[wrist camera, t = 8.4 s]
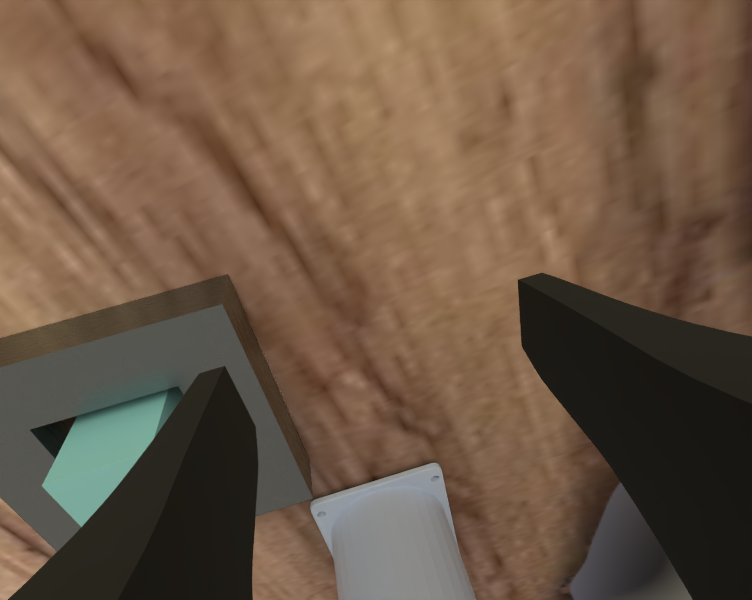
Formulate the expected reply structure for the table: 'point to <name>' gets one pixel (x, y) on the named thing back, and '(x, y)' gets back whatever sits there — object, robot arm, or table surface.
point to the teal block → (105, 451)
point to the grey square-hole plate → (135, 390)
